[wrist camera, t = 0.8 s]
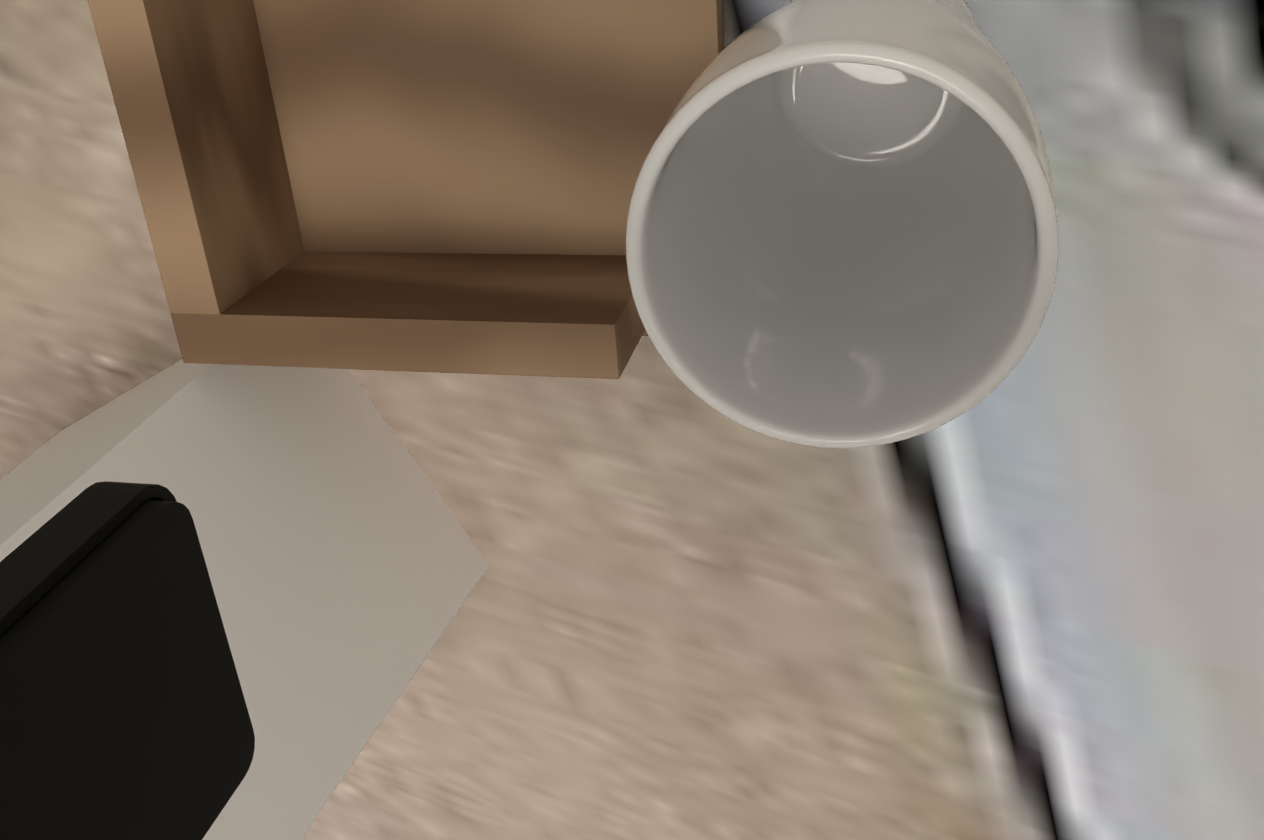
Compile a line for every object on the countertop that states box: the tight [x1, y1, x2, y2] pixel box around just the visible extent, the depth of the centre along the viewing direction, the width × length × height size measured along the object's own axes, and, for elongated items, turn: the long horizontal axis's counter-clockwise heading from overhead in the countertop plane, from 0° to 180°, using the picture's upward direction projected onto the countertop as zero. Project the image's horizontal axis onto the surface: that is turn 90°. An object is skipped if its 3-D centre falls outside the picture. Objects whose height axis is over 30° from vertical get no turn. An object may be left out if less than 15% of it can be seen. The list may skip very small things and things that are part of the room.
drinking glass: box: [626, 0, 1059, 448], centre depth 25 cm, size 7×7×15 cm
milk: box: [0, 359, 489, 840], centre depth 32 cm, size 12×12×26 cm
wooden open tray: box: [88, 0, 724, 379], centre depth 31 cm, size 15×16×6 cm
